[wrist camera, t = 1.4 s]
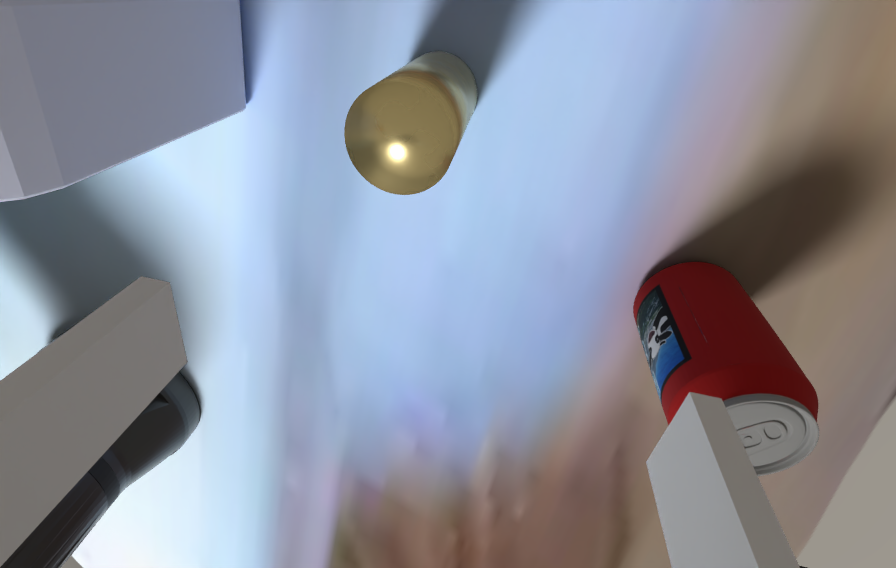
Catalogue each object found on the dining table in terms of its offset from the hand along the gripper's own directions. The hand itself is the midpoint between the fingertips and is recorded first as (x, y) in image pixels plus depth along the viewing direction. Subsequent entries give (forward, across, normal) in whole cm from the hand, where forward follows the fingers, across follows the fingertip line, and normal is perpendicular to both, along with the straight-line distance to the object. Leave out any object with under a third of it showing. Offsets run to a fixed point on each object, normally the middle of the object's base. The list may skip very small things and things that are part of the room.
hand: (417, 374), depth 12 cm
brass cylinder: (+20, -3, +3) cm, 20 cm away
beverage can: (+20, +15, -7) cm, 26 cm away
